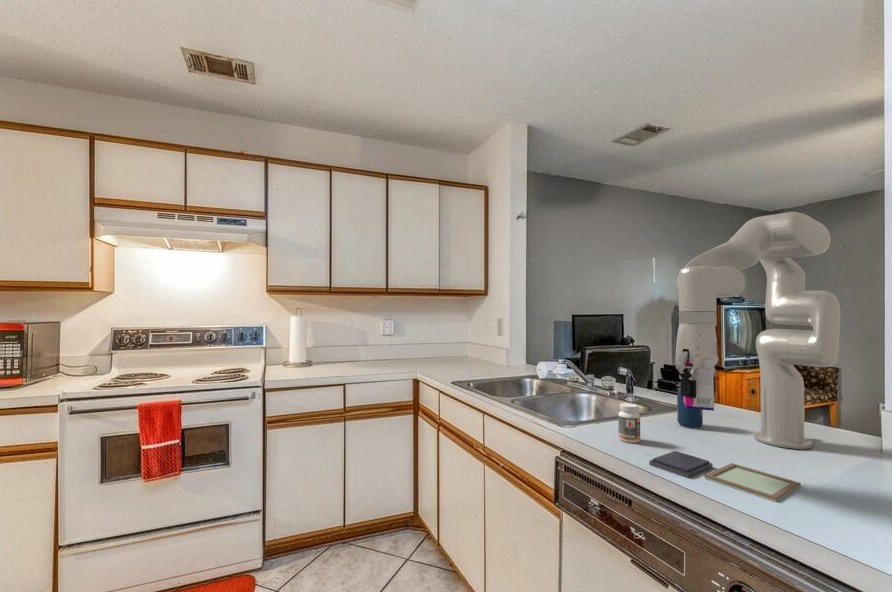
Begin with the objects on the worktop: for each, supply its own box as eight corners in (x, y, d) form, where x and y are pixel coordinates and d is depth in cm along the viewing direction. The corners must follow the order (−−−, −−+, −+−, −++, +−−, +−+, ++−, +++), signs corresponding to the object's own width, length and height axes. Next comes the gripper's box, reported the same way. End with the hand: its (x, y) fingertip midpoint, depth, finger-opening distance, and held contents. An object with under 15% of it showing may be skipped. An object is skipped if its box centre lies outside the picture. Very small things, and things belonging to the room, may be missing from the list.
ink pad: (674, 455, 106) (674, 449, 106) (712, 467, 98) (712, 461, 98) (649, 464, 100) (649, 458, 100) (688, 478, 92) (688, 471, 92)
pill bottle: (642, 444, 114) (642, 407, 115) (620, 442, 116) (620, 406, 116) (637, 437, 120) (637, 403, 120) (616, 436, 121) (616, 402, 121)
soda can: (707, 429, 128) (707, 390, 129) (684, 429, 129) (684, 390, 129) (694, 422, 135) (694, 385, 136) (672, 422, 135) (672, 385, 136)
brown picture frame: (731, 466, 99) (731, 463, 99) (800, 486, 88) (800, 482, 88) (704, 478, 92) (704, 475, 92) (775, 501, 81) (775, 498, 81)
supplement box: (711, 405, 98) (710, 356, 99) (714, 411, 93) (713, 359, 93) (683, 402, 101) (682, 355, 101) (684, 408, 96) (684, 358, 96)
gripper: (700, 317, 105) (701, 387, 105) (660, 319, 96) (661, 396, 96) (733, 318, 99) (734, 393, 98) (693, 320, 90) (694, 403, 89)
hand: (698, 394), depth 97 cm, fingers closed on supplement box, 7 cm apart
